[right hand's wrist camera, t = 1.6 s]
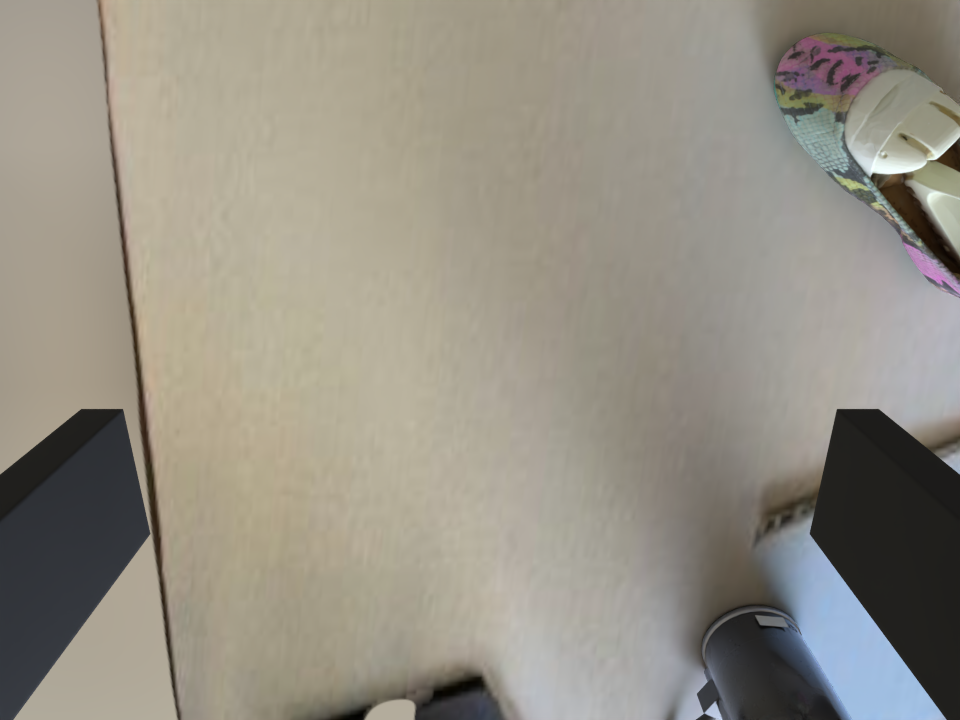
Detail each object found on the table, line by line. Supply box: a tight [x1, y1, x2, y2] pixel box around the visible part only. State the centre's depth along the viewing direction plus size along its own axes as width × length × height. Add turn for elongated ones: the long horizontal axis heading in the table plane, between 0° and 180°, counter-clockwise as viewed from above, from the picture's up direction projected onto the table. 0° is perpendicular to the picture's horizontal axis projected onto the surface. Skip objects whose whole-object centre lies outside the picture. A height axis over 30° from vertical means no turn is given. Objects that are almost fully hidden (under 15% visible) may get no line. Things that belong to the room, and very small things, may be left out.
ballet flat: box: [774, 33, 960, 298], centre depth 46 cm, size 8×24×9 cm, turn 46°
